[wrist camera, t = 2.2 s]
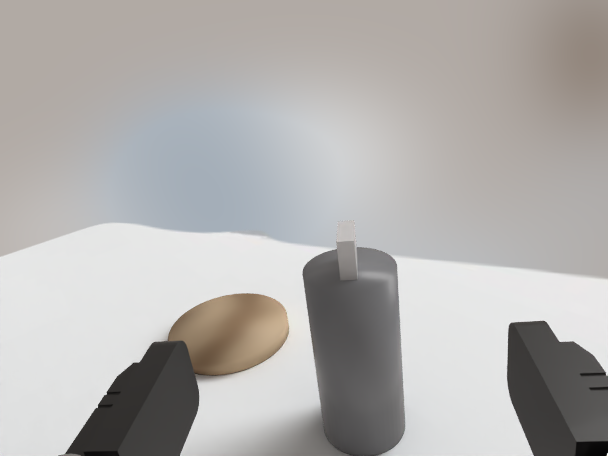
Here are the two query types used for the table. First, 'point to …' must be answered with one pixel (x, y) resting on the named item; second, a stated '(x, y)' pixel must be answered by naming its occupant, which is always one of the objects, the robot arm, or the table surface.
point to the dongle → (356, 345)
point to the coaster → (232, 332)
